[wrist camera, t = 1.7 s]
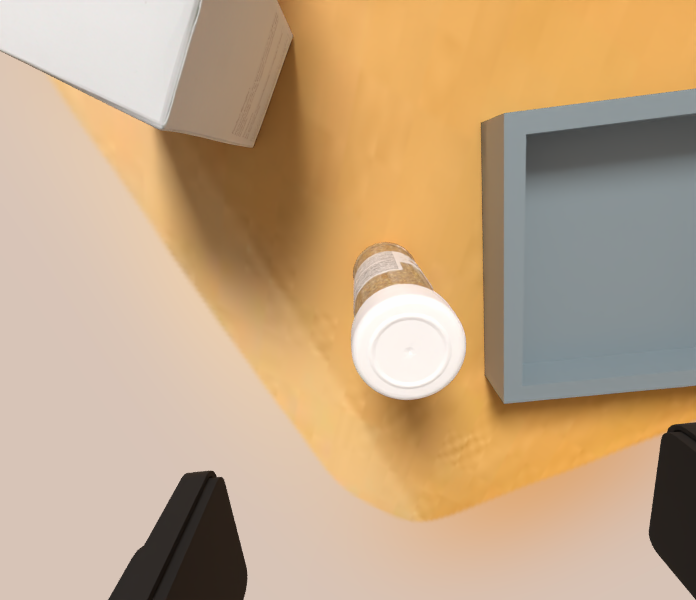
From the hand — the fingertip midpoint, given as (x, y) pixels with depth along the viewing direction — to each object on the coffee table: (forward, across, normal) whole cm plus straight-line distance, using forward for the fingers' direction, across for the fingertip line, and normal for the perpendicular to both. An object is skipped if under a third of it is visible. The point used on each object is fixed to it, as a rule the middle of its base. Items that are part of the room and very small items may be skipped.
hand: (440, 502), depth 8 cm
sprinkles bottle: (+21, -1, 0) cm, 21 cm away
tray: (+20, -17, 0) cm, 26 cm away
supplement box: (+21, +8, -14) cm, 27 cm away
